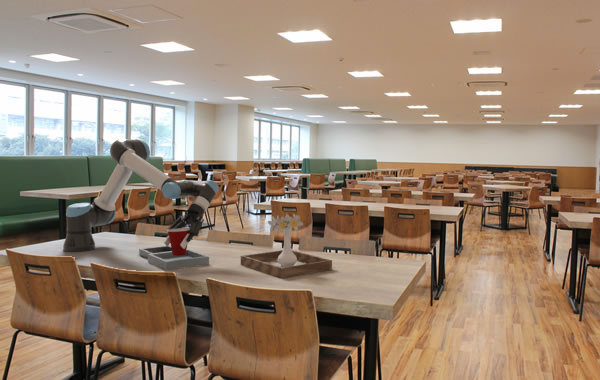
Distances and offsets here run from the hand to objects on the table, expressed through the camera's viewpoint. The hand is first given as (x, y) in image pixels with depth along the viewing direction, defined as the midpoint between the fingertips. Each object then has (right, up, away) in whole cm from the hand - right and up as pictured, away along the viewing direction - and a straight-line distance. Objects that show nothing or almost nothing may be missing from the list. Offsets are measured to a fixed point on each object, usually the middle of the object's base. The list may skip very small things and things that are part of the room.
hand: (173, 245), depth 222 cm
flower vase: (+50, -9, -2) cm, 51 cm away
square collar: (-11, -7, +19) cm, 23 cm away
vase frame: (+50, -9, -2) cm, 51 cm away
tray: (+1, -8, +3) cm, 9 cm away
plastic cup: (+2, -5, +3) cm, 6 cm away
